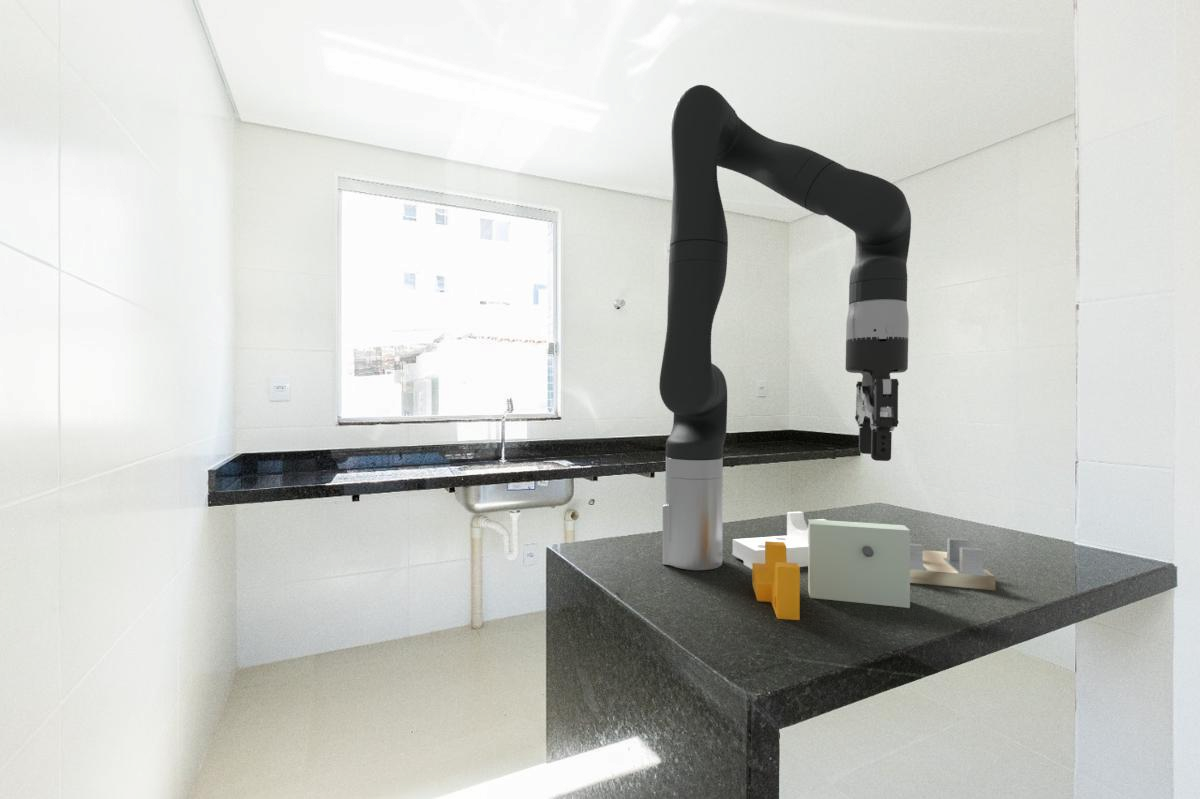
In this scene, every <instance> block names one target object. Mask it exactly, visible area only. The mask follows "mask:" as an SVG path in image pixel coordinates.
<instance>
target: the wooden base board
mask: <svg viewBox="0 0 1200 799" xmlns="http://www.w3.org/2000/svg"><path fill="white" fill-rule="evenodd" d="M943 558H947V551H940V550H938V551H937V550H926V549H925V550H924V549H923V566H924V567H925V568H926V571H924V570H912V569H910V584H921V585H922V584H923V585H931V586H932V585H933V586H944V587H955V588H967V589H977V590H987V591H988V590H989V591H996V576H995V575H994V574H993V573H991V572H990V571H989V570H988V569H986V568H985V567H984V571H985V572H986V573H988V576H983V575H971V574H959V573H957V572H956V571H955V570H954V569H953V568H952V567H951V566H950V565H948V564H947V563H946V562H945V561H944V560H943Z"/></svg>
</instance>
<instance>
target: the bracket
mask: <svg viewBox="0 0 1200 799" xmlns="http://www.w3.org/2000/svg"><path fill="white" fill-rule="evenodd" d="M804 516H805V515H804V512H803V511H799V510H798V511H787V512H786V535H774V536H764V537H763V536H760V537H747V538H745V537H744V538H733V539H732V556H734V557H736V558H738V559H740V560H742V561H743V565H744V566H745V567H747V568H749V569H751V570H752V563H760V564H765V541H769V542H784V543H785V545H786V558H787V563H797V564H798V566H799V567H800V568H802V567H808V524H807V523H806V521H805V517H804ZM813 519H814V518H813ZM814 520H826V519H825V518H819V519H818V518H816V519H814Z"/></svg>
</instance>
